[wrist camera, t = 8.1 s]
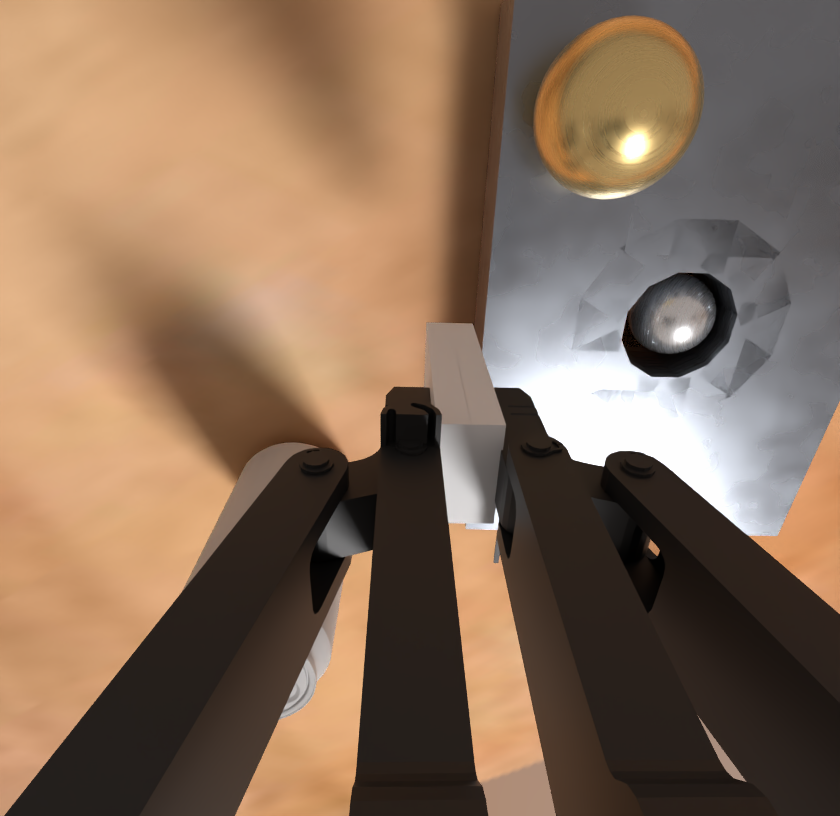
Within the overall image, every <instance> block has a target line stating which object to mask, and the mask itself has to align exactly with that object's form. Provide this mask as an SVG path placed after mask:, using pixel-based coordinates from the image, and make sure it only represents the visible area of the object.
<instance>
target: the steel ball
mask: <svg viewBox="0 0 840 816" xmlns="http://www.w3.org/2000/svg"><path fill="white" fill-rule="evenodd" d="M715 318H716V304H715V299H714V297H713V294H712V293H711V291H710V290H709V288H708V287H707V286H706V285H705V284H704V283H703V282H702V281H700V280H698V279H697V278H695V277H693V276H690V275H687V274H681V273H676V274H674V275H672V276H670V277H668V278H666V279H664V280H662V281H660V282H658V283H656V284H654V285H651V286H649V287H648V288H647V289H646V291H645V292H644V293H643V294H642V295H641V297H640V298H639V299H638V300H637V301H636V303H635V304H634V305H633V306H632V307H631V309H630V310H629V311H628V322H629V326H630V330H631V332H632V334H633V336H634V337H635V338H636V340H637V341H638V342H639V343H640V344H642V345H643V346H644V347H646V348H647V349H649V350H652V351H654V352H658V353H663V354H675V353H680V352H684V351H687V350H689V349H691V348H693V347H695V346H696V345H698V344H699V343H700V342H702V341H703V340H704V339H705V338H706V336H707V335H708V334H709V332H710V331H711V329H712V327H713V325H714V322H715Z"/></svg>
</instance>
